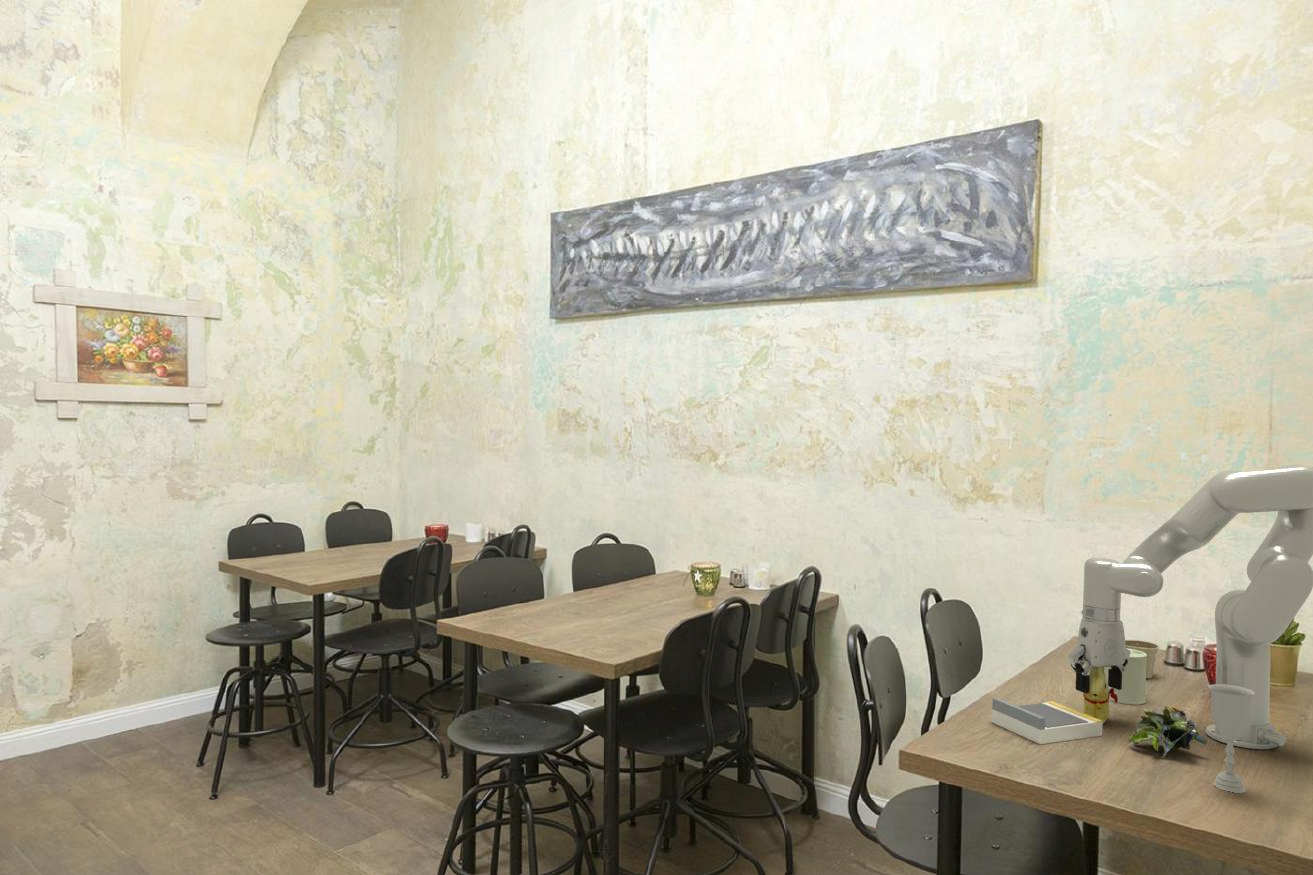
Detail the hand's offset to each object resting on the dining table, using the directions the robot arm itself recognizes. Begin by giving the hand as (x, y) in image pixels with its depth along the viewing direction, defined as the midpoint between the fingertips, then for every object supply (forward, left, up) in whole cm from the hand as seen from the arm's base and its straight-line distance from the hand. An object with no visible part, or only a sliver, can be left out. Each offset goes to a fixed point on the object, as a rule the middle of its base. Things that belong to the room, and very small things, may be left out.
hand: (1098, 689), depth 193 cm
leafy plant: (-19, +3, -7) cm, 21 cm away
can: (+11, -20, -7) cm, 24 cm away
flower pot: (+25, -41, -7) cm, 49 cm away
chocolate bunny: (0, 0, -7) cm, 7 cm away
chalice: (-35, +7, -7) cm, 37 cm away
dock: (0, +15, -7) cm, 17 cm away
